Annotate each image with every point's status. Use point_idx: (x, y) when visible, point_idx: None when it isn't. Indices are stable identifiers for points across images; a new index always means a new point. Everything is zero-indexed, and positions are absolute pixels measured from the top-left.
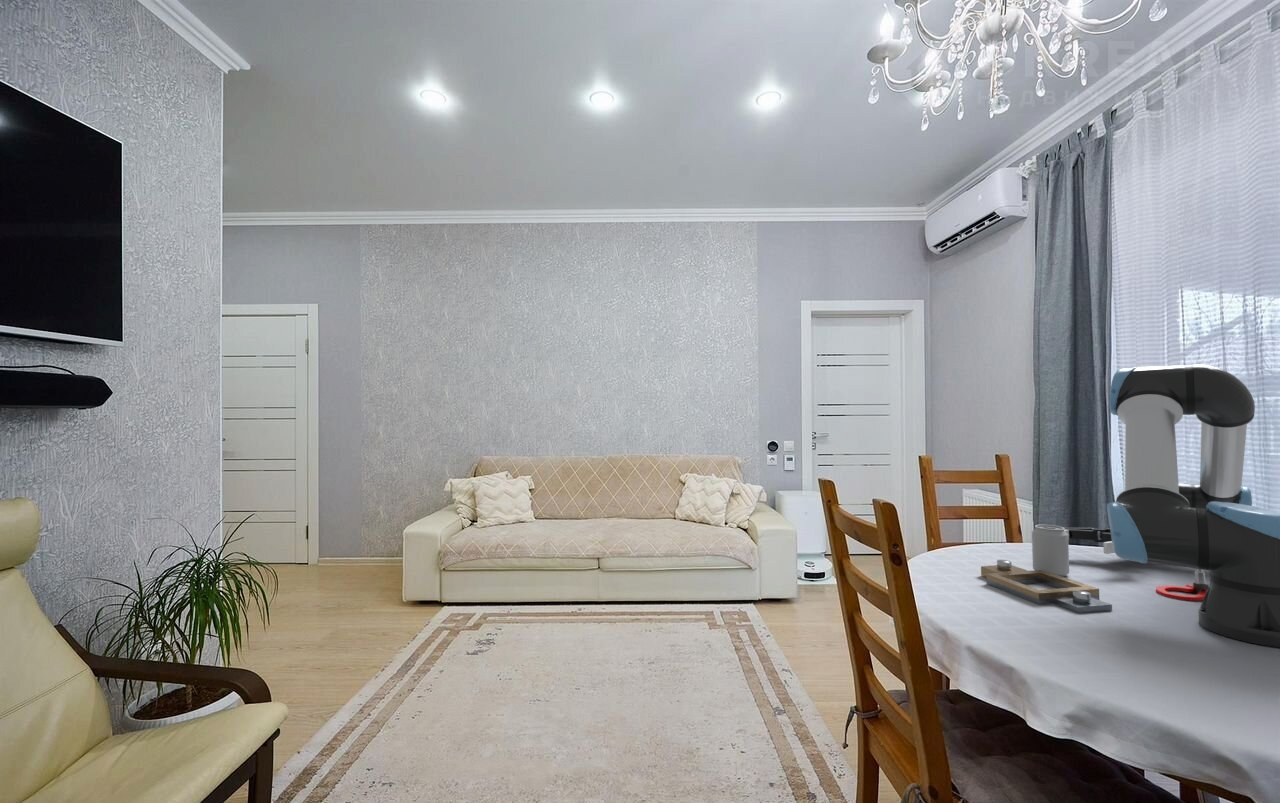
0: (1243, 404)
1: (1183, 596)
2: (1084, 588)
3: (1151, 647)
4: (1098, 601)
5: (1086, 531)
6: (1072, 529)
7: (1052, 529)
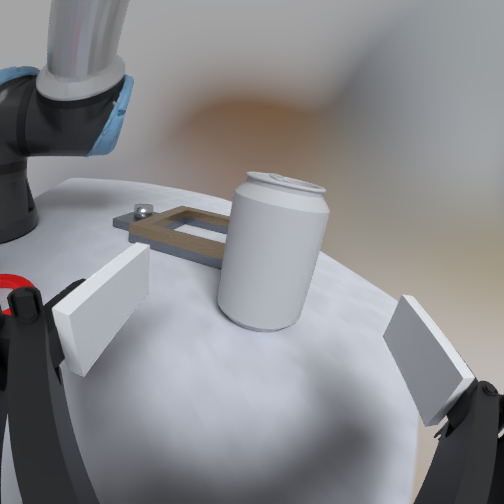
0: None
1: (7, 274)
2: (146, 220)
3: (89, 199)
4: (126, 220)
5: (456, 480)
6: (496, 423)
7: (259, 172)
